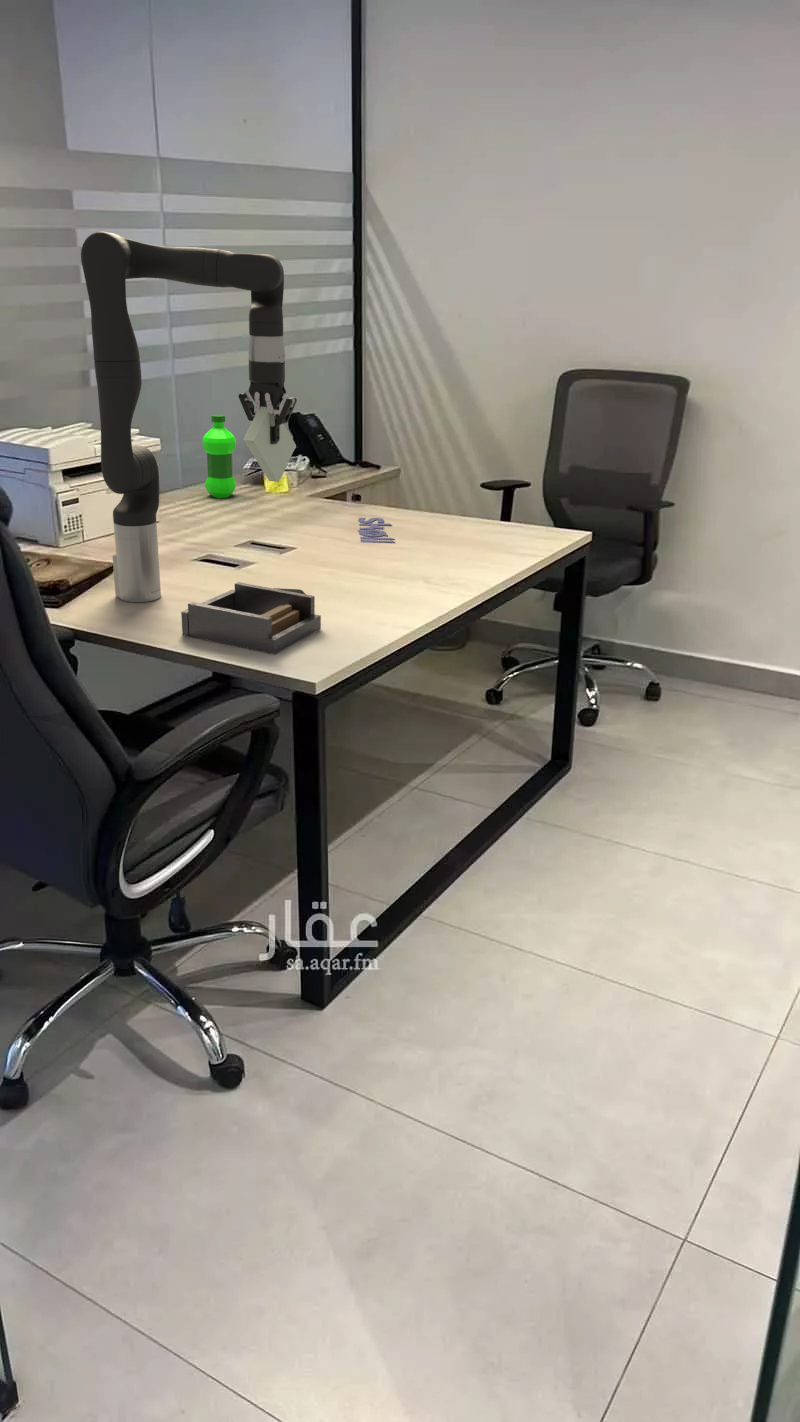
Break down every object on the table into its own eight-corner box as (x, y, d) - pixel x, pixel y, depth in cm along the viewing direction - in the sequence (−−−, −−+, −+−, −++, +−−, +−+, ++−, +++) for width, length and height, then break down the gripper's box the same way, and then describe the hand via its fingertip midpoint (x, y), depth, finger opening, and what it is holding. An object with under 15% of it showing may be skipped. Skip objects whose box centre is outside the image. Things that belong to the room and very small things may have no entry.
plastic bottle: (216, 501, 334) (213, 418, 324) (198, 494, 341) (195, 414, 331) (243, 497, 340) (241, 416, 330) (225, 491, 347) (223, 412, 337)
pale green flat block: (269, 480, 235) (243, 439, 223) (286, 444, 238) (261, 402, 226) (278, 482, 234) (253, 440, 222) (296, 445, 237) (271, 403, 225)
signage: (357, 517, 318) (390, 517, 319) (357, 519, 318) (390, 520, 319) (358, 541, 292) (395, 541, 293) (358, 543, 292) (395, 544, 293)
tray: (182, 635, 219) (180, 602, 216) (232, 611, 234) (231, 580, 231) (274, 654, 210) (274, 620, 208) (320, 628, 225) (320, 597, 222)
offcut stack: (250, 644, 216) (249, 618, 214) (282, 627, 226) (281, 602, 224) (268, 648, 214) (268, 621, 212) (299, 631, 224) (299, 606, 222)
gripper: (228, 357, 222) (231, 442, 229) (285, 362, 216) (286, 448, 223) (248, 354, 228) (250, 437, 235) (304, 359, 223) (305, 444, 230)
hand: (268, 442), depth 229 cm, fingers closed on pale green flat block, 2 cm apart
